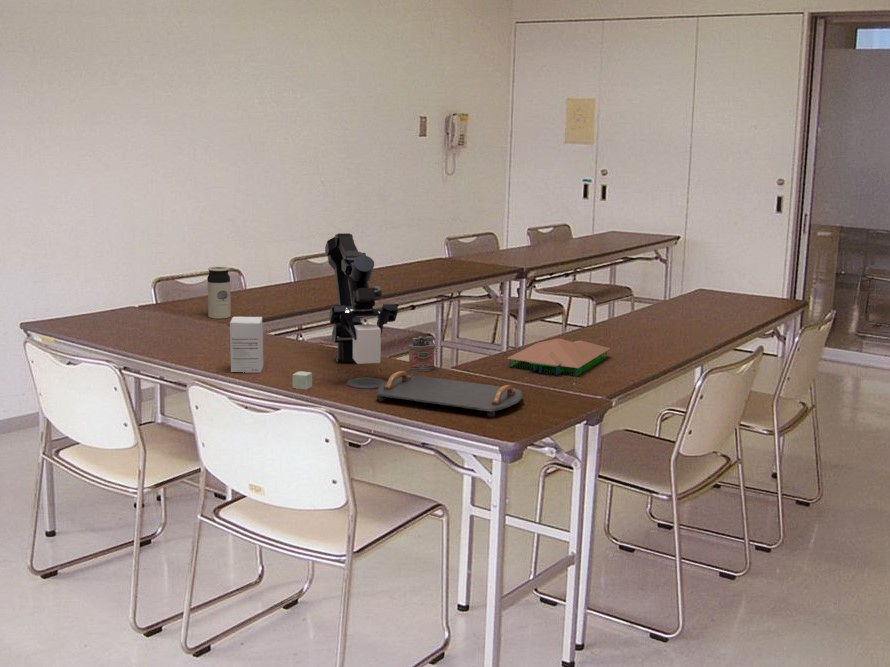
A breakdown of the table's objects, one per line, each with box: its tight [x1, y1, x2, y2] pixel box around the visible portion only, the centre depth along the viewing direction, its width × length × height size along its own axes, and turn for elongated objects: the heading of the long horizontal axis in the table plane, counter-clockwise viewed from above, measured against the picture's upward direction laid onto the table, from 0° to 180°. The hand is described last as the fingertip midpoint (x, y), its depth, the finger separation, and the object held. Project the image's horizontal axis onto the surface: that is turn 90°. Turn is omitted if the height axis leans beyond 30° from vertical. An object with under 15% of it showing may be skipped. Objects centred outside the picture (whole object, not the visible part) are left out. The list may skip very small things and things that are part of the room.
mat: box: [346, 377, 387, 390], centre depth 296 cm, size 11×11×1 cm
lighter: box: [408, 335, 436, 372], centre depth 313 cm, size 8×3×10 cm, turn 106°
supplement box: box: [229, 316, 264, 374], centre depth 308 cm, size 9×9×15 cm
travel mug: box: [206, 266, 232, 320], centre depth 383 cm, size 8×8×18 cm
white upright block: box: [353, 323, 382, 365], centre depth 294 cm, size 6×6×10 cm
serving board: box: [375, 370, 524, 418], centre depth 281 cm, size 39×23×6 cm, turn 66°
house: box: [505, 337, 611, 376], centre depth 325 cm, size 23×33×8 cm
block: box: [292, 371, 313, 391], centre depth 291 cm, size 4×4×4 cm
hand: (367, 338), depth 292 cm, fingers closed on white upright block, 6 cm apart
